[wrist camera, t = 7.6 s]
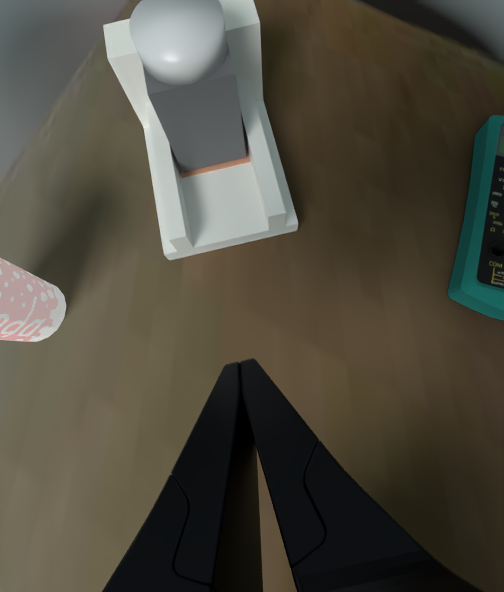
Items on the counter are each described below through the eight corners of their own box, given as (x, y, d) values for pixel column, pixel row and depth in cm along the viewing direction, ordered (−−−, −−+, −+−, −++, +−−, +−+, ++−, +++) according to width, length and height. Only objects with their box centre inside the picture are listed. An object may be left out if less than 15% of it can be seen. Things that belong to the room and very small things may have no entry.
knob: (246, 157, 24) (231, 44, 16) (182, 172, 24) (135, 67, 16) (233, 105, 26) (213, -25, 17) (172, 119, 26) (123, -3, 17)
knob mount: (297, 230, 24) (311, 143, 15) (169, 260, 24) (106, 191, 15) (255, 83, 28) (246, -59, 19) (144, 110, 28) (82, -19, 19)
